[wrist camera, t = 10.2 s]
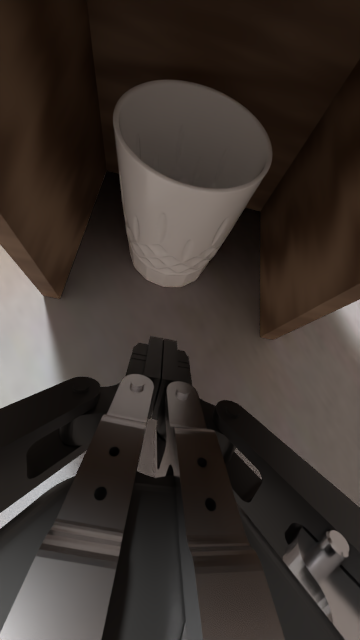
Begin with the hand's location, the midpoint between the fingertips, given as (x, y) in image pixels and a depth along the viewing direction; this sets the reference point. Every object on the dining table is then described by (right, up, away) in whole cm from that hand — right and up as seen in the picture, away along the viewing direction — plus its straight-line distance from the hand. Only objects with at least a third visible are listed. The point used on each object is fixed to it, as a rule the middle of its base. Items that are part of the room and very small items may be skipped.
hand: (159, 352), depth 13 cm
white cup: (0, +7, +8) cm, 11 cm away
